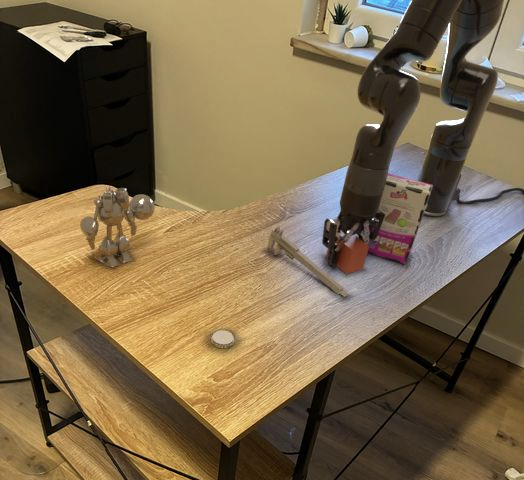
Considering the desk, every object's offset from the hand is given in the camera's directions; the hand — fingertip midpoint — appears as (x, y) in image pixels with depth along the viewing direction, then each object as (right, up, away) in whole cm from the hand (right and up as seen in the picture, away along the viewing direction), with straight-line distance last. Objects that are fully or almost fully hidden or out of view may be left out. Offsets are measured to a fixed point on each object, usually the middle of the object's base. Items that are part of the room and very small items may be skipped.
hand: (344, 260), depth 110 cm
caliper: (-9, -3, -4) cm, 10 cm away
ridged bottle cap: (-24, -17, -22) cm, 37 cm away
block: (0, -1, 0) cm, 1 cm away
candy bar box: (+9, +3, +6) cm, 11 cm away
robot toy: (-45, 0, -7) cm, 45 cm away
